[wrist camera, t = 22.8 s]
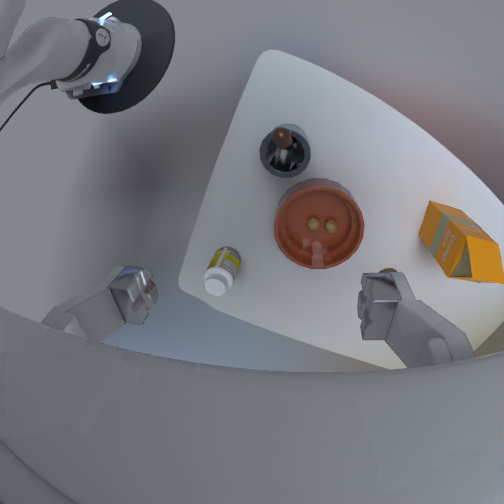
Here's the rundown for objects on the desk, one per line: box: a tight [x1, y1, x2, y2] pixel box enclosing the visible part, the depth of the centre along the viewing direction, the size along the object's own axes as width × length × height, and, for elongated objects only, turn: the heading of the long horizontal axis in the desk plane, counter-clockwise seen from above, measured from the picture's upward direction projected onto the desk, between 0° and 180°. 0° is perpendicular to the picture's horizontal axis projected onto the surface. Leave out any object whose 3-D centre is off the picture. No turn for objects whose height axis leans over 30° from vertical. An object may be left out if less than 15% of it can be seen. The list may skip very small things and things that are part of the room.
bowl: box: [274, 179, 364, 269], centre depth 46 cm, size 15×15×6 cm
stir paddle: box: [271, 127, 297, 150], centre depth 32 cm, size 3×2×22 cm, turn 93°
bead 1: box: [307, 218, 320, 231], centre depth 48 cm, size 2×2×2 cm
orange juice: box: [419, 201, 504, 284], centre depth 36 cm, size 8×9×20 cm
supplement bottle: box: [204, 247, 240, 296], centre depth 52 cm, size 6×6×10 cm
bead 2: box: [325, 220, 338, 233], centre depth 47 cm, size 2×2×2 cm
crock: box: [260, 123, 311, 178], centre depth 37 cm, size 6×6×12 cm
